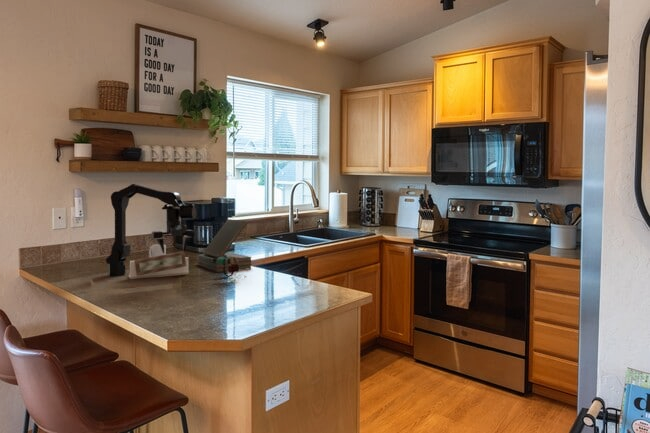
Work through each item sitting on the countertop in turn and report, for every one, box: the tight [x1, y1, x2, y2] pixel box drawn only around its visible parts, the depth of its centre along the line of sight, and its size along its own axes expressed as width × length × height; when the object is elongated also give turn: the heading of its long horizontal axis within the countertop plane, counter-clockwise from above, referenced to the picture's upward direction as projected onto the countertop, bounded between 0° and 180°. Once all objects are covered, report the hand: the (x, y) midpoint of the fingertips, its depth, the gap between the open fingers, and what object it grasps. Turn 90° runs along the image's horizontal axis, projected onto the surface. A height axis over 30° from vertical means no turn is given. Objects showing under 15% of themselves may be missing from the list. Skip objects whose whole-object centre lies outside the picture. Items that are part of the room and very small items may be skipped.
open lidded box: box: [197, 219, 252, 273], centre depth 251 cm, size 23×20×25 cm
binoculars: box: [213, 255, 240, 277], centre depth 224 cm, size 9×11×10 cm
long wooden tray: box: [128, 256, 190, 280], centre depth 224 cm, size 26×6×8 cm, turn 121°
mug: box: [148, 243, 167, 258], centre depth 247 cm, size 10×7×12 cm, turn 66°
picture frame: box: [134, 250, 186, 276], centre depth 220 cm, size 22×2×7 cm, turn 121°
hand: (173, 252), depth 223 cm, fingers open, 9 cm apart
